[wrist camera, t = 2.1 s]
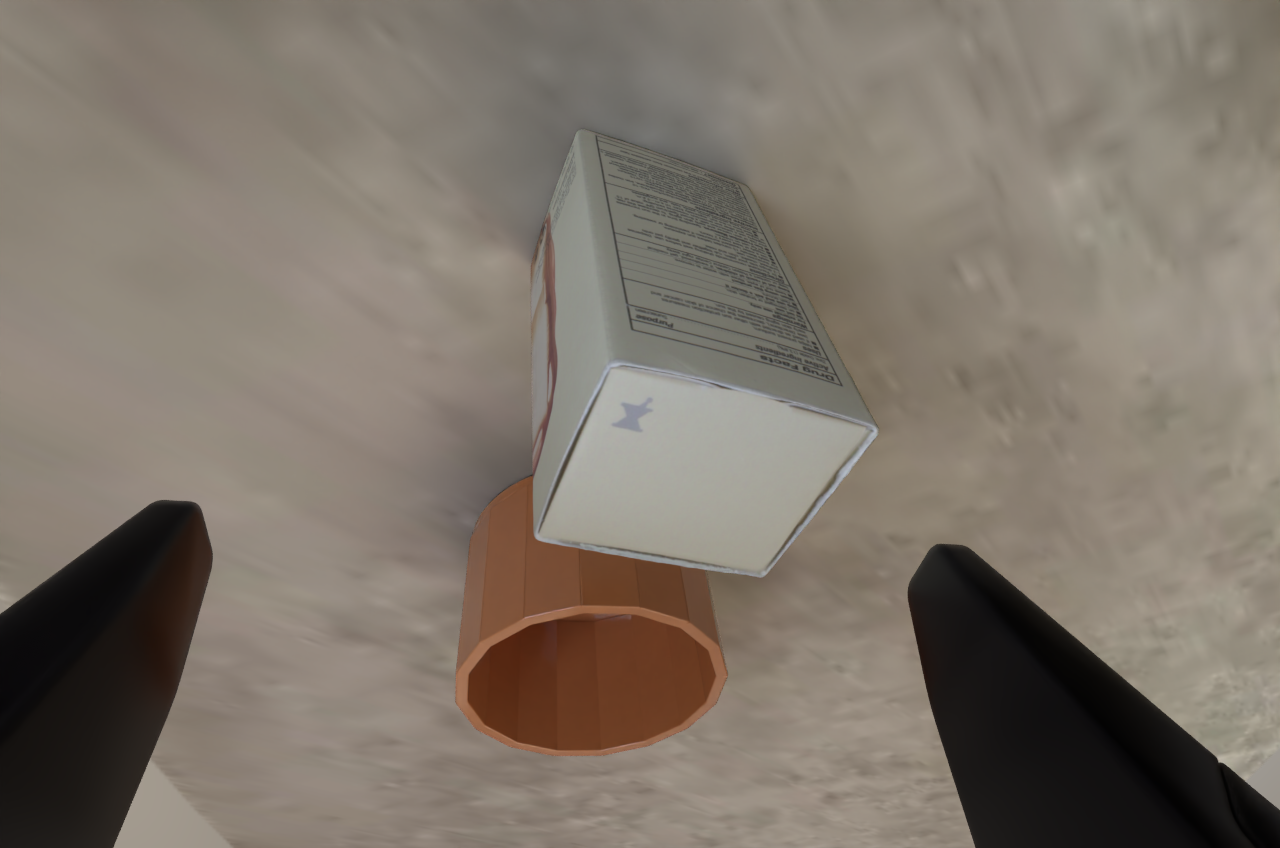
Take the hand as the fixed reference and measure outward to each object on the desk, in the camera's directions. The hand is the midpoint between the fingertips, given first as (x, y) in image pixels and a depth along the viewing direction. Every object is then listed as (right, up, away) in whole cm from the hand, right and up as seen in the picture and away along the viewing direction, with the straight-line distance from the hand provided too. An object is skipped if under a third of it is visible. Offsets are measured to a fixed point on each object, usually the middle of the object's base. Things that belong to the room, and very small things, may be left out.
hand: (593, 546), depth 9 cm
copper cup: (-1, -3, +19) cm, 20 cm away
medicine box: (+1, +7, +12) cm, 13 cm away
